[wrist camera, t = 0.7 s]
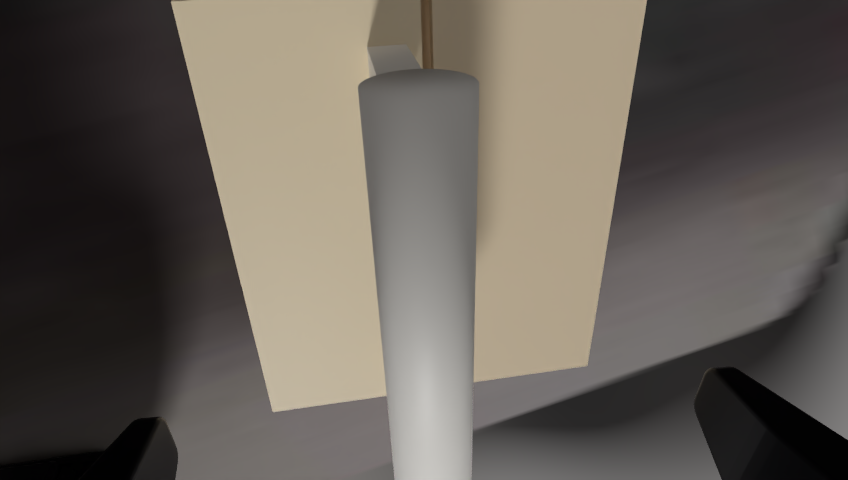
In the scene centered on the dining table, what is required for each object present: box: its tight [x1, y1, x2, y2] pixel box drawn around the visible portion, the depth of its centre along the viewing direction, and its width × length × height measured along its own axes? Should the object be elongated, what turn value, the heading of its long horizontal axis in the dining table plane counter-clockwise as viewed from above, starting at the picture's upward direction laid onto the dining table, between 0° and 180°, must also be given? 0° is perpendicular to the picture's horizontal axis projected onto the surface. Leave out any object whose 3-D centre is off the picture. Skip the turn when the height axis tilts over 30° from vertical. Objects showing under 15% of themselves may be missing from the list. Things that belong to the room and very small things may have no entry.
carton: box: [420, 0, 647, 382], centre depth 19 cm, size 14×12×5 cm
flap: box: [171, 0, 479, 480], centre depth 14 cm, size 14×6×7 cm, turn 2°
